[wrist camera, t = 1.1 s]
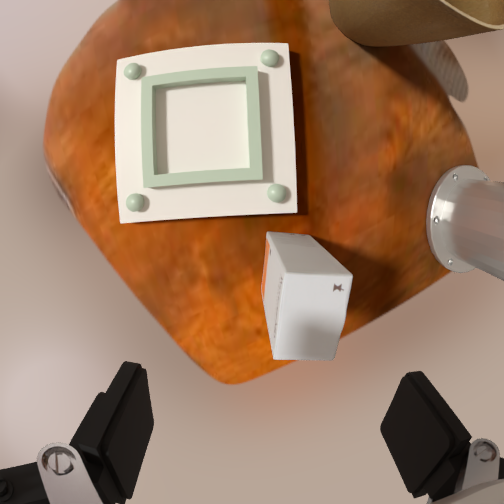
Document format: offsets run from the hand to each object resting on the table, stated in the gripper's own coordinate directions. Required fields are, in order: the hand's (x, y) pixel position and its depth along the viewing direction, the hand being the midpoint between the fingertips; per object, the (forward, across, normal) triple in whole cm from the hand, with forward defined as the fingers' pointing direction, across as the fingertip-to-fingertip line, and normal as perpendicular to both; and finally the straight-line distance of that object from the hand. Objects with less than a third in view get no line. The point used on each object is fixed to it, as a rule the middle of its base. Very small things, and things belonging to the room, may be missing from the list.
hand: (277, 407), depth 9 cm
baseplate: (+20, +6, -12) cm, 23 cm away
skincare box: (+20, -3, 0) cm, 20 cm away
